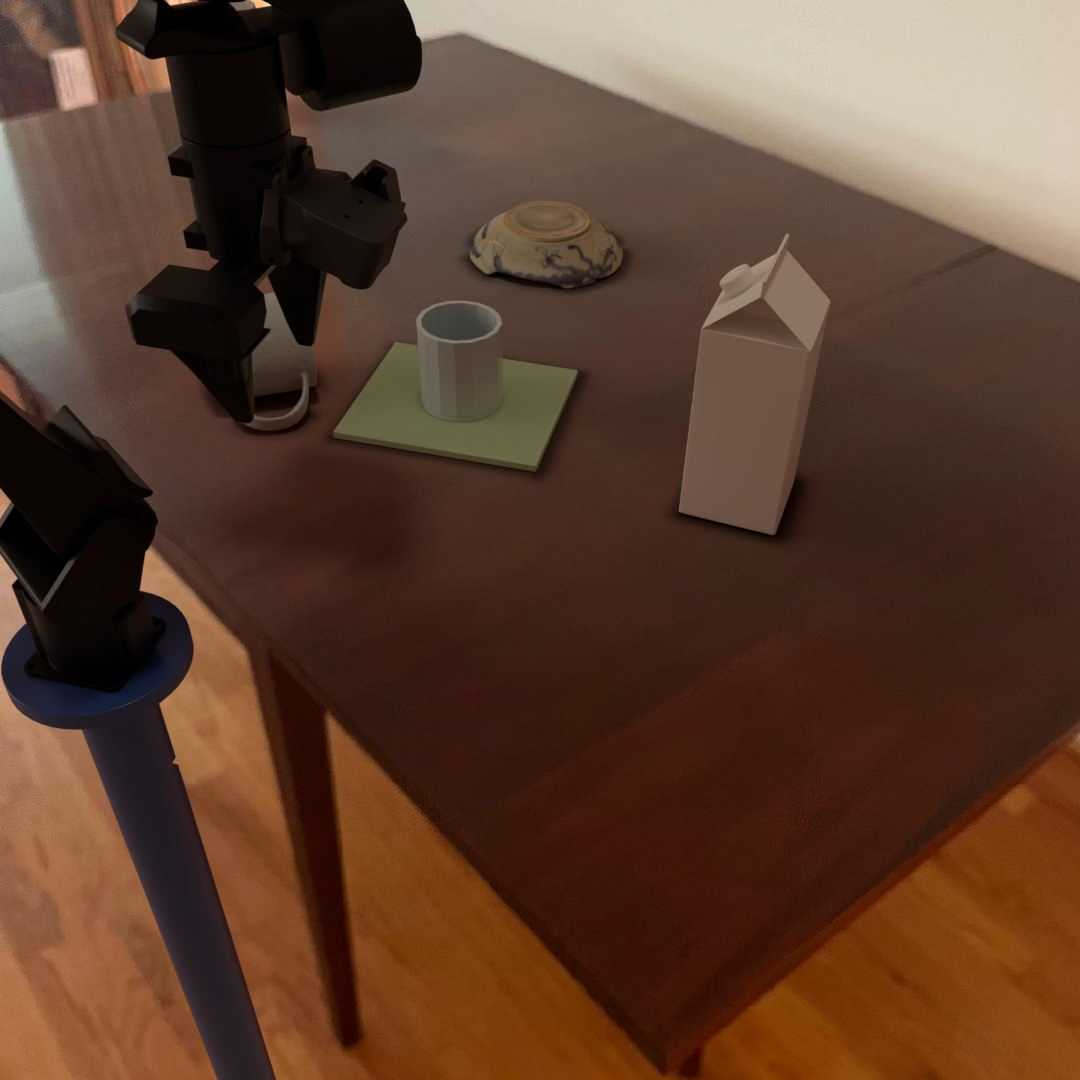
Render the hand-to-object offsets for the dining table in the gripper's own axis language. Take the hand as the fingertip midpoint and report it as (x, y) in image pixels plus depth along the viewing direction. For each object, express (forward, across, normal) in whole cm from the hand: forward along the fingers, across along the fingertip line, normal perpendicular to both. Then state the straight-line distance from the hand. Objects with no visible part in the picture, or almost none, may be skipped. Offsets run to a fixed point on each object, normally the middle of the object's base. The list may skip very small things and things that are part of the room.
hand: (276, 381), depth 71 cm
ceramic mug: (+12, +15, +9) cm, 21 cm away
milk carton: (+12, +12, -29) cm, 34 cm away
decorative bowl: (+12, +46, -6) cm, 48 cm away
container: (+11, +18, -6) cm, 22 cm away
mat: (+12, +18, -6) cm, 22 cm away
